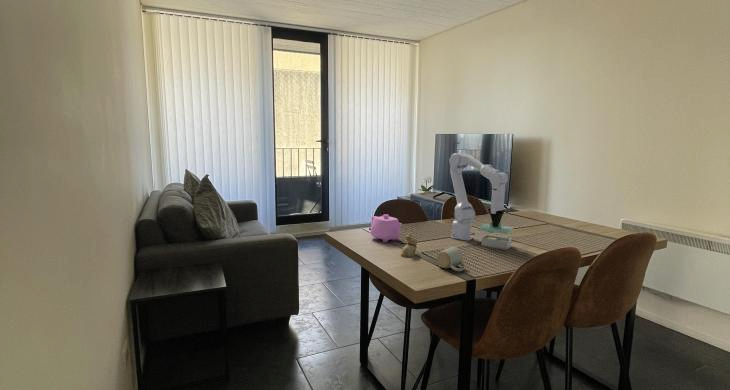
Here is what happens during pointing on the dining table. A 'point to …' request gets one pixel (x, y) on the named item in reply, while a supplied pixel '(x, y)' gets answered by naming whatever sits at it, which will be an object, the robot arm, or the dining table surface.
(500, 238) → the box
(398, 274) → the dining table surface
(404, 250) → the chocolate bunny
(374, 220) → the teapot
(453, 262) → the ceramic mug
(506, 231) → the lid
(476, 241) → the dining table surface
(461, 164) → the robot arm
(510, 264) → the dining table surface
